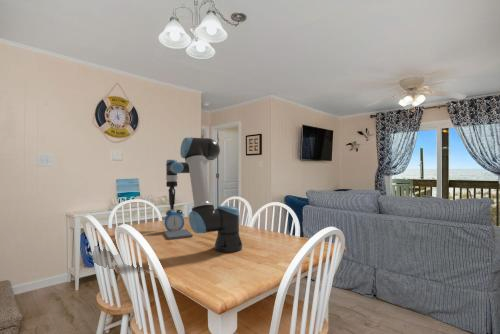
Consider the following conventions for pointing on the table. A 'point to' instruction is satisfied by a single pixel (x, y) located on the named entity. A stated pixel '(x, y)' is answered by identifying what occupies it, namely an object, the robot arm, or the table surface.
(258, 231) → the table surface
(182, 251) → the table surface
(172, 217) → the alarm clock
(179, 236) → the mat
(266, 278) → the table surface
